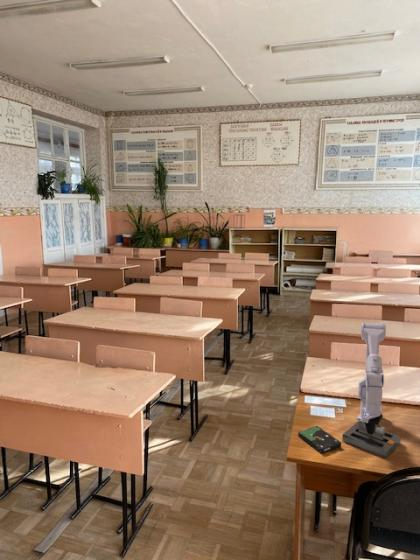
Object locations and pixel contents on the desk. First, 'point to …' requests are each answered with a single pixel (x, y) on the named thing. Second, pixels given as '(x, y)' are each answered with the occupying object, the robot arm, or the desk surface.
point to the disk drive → (319, 439)
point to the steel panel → (378, 431)
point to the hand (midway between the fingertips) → (371, 432)
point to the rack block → (372, 441)
